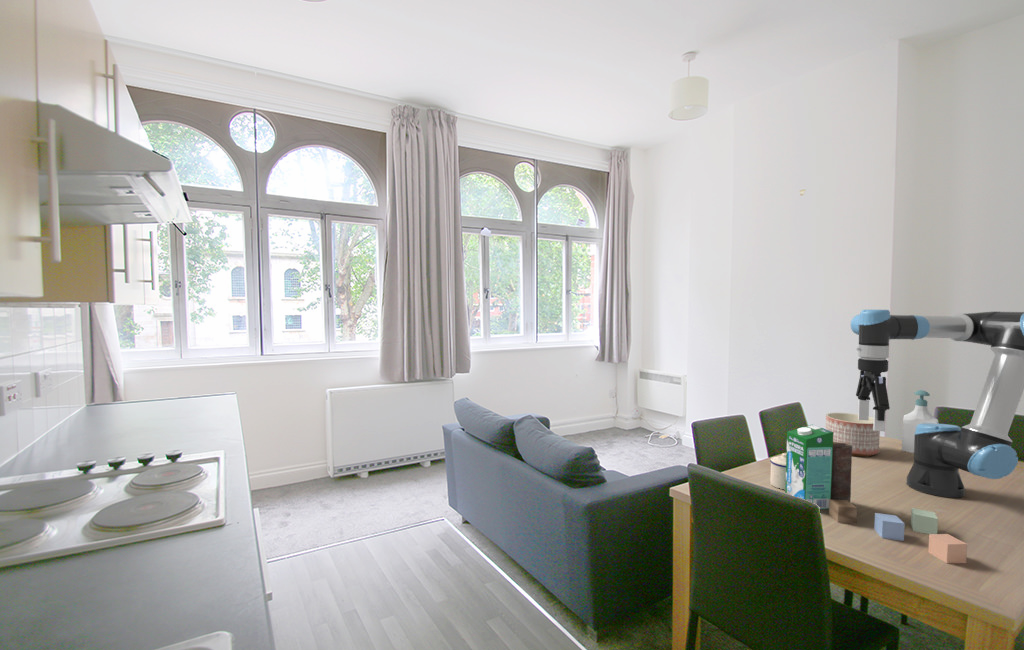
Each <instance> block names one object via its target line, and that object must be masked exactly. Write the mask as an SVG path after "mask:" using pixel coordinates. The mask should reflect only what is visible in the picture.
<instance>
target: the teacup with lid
mask: <svg viewBox="0 0 1024 650" xmlns="http://www.w3.org/2000/svg"><path fill="white" fill-rule="evenodd" d="M786 454H787V452H785V453H781V455H778V456H773V457H771V458H770V460H769V462H770V477H769V478H770V482H769V483H770V485H771V486H773V488H776V489H779V488H780V489H779V490H782V489H784V490H783V491H785V484H786Z"/></svg>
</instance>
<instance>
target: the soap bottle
mask: <svg viewBox="0 0 1024 650" xmlns="http://www.w3.org/2000/svg"><path fill="white" fill-rule="evenodd" d="M914 395H915V396H919V398H917V399H915V405H914V409H913V410H912V411H910V412H909V413H906V414H904V415H903V418H902V430H901V431H902V432H901V451H902V452H905V451H906V453H910V454H911V453H912V454H914V439H915V431H916V426H917V425H918V424H922V423H935V424H940V423H939V419H937V418H935V416H933V415H932V413H930V411H929V408H928V401H927V399H924V397H930V393H929V392H927V390H923V389H918V390H916V391H915V392H914Z"/></svg>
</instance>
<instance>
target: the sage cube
mask: <svg viewBox="0 0 1024 650" xmlns="http://www.w3.org/2000/svg"><path fill="white" fill-rule="evenodd" d="M910 513H911V514H910V525H911V529H912V530H913V532H915V533H916V532H917V533H921V534H927V535H929V534H938V523H939V518H938V516H937V514H936V512H935V511H930V510H925V509H921V508H920V509H919V508H915V507H911V511H910Z"/></svg>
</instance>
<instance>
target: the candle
mask: <svg viewBox="0 0 1024 650" xmlns="http://www.w3.org/2000/svg"><path fill="white" fill-rule="evenodd" d="M852 457H853V455H852V445H851V444H846V443H838V442H833V456H832V481H831V499H834V500H848V501H849V502H850V503H851V498H852V497H851V494H852V492H851V491H852V463H853V462H852Z"/></svg>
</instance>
